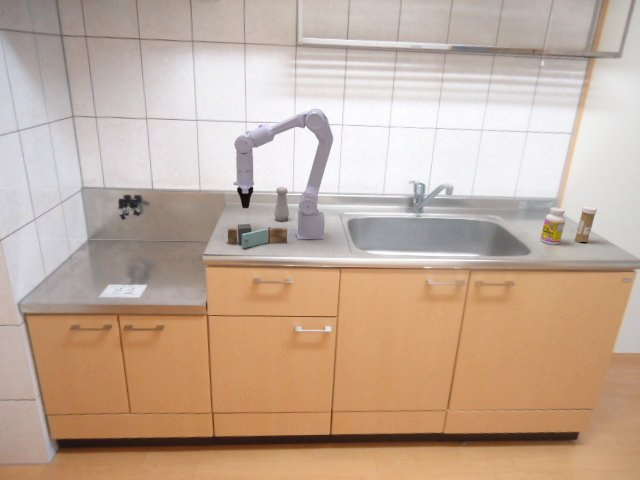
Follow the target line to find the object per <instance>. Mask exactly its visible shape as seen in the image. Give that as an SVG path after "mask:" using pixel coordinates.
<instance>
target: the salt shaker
mask: <svg viewBox="0 0 640 480" xmlns="http://www.w3.org/2000/svg"><path fill="white" fill-rule="evenodd" d="M275 190H276V191H275V192H276V194H277V197H276V202H275V209H274V214H273V215H274V217H275V219H276V221H278V222H286V221H287V219H288V218H289V216H290V212H289V211H290V210H289V206H288V199H287V195H288V188H287V187H283V186H279V187H277V188H276V189H275Z"/></svg>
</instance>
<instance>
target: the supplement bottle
mask: <svg viewBox="0 0 640 480" xmlns="http://www.w3.org/2000/svg"><path fill="white" fill-rule="evenodd" d="M549 212H550V213H549V214H547V215H546V216H545V219H544V223H543V227H542V230H541V235H540V241H541V242H542V243H544V244H547V245H553V246H555V245H556V246H557V245H559V244H560V243H561V239H562V236H563V235H562V234H563V231H564V228H565V223H566V217H565V216H564V215H565V212H566V211H565V209H564V208H561V207H553V206H552V207H550V210H549Z"/></svg>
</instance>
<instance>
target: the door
mask: <svg viewBox="0 0 640 480" xmlns="http://www.w3.org/2000/svg"><path fill="white" fill-rule="evenodd" d="M264 244H268V229H267V228H263V229H259V230H258V229H257V230H253V231H251V232H249V233H245V234H242V245H241V248H242V249H245V248H246V249H247V248H250V247H254V246H258V245H264Z"/></svg>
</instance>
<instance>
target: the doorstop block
mask: <svg viewBox="0 0 640 480" xmlns="http://www.w3.org/2000/svg"><path fill="white" fill-rule="evenodd" d="M249 232H252V226H251V224H250V223H245V224H243V223H242V224H240V223H239V224H237V242H238V244H239V246H242V234H245V233H249Z"/></svg>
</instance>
